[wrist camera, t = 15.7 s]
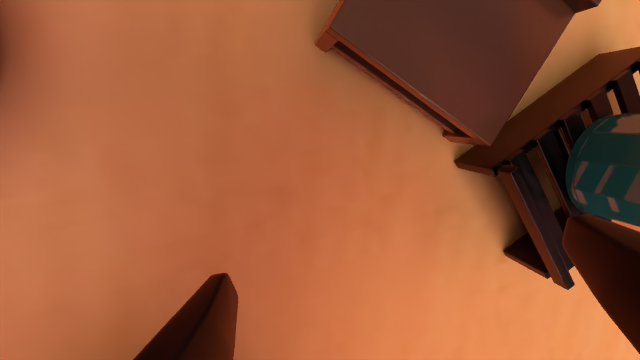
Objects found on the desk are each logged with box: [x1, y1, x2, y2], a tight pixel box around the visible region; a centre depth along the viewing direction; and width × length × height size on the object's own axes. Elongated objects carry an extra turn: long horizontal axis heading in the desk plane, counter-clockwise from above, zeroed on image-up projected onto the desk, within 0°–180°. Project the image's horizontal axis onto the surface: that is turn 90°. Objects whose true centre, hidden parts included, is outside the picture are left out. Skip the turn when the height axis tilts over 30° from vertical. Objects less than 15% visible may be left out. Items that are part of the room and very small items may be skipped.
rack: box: [454, 47, 640, 290], centre depth 21 cm, size 13×9×5 cm
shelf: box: [315, 0, 601, 146], centre depth 17 cm, size 9×11×5 cm
